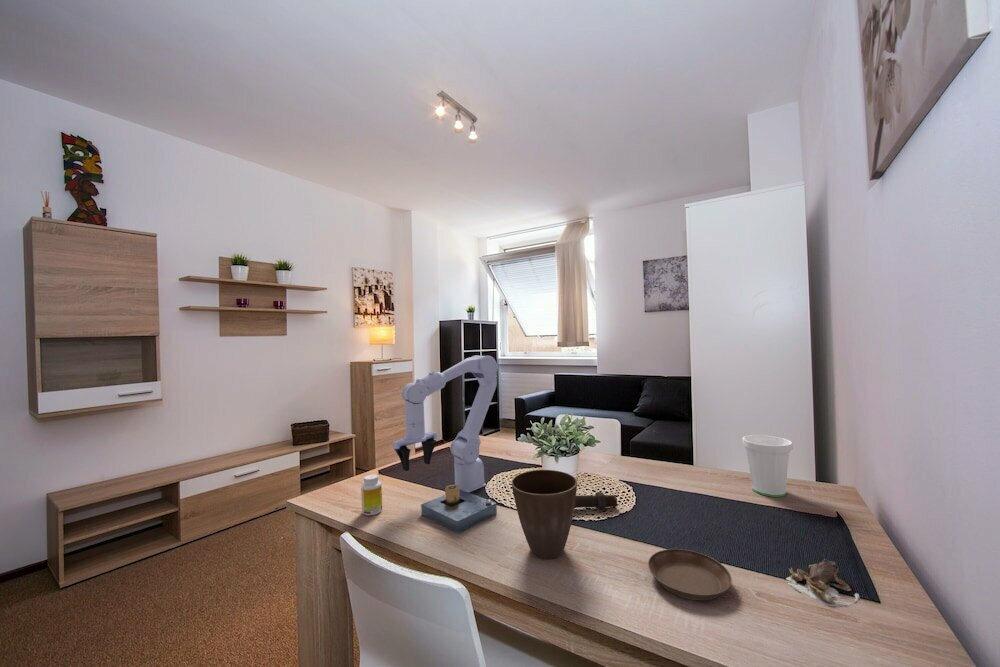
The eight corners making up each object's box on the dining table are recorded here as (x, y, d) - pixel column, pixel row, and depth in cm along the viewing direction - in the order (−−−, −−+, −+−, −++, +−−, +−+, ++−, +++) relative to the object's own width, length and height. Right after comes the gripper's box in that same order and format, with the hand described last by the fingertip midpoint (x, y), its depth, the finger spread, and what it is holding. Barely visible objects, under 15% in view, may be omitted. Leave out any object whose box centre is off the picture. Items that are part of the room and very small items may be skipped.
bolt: (617, 515, 111) (563, 516, 110) (612, 500, 115) (560, 500, 115) (620, 501, 108) (565, 502, 108) (615, 486, 112) (562, 487, 112)
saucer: (693, 619, 68) (692, 603, 68) (632, 572, 82) (632, 559, 82) (750, 593, 74) (749, 579, 74) (684, 554, 88) (684, 542, 88)
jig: (459, 498, 122) (459, 486, 122) (496, 513, 110) (496, 500, 110) (421, 515, 112) (420, 501, 112) (458, 533, 100) (457, 518, 100)
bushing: (453, 507, 116) (452, 483, 116) (463, 511, 113) (462, 486, 113) (443, 512, 113) (442, 487, 113) (452, 516, 110) (451, 491, 110)
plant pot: (573, 575, 81) (570, 497, 81) (505, 563, 86) (502, 490, 86) (584, 538, 95) (581, 472, 95) (524, 530, 100) (522, 467, 100)
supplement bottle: (385, 512, 114) (384, 476, 114) (366, 518, 111) (365, 481, 111) (377, 506, 119) (376, 472, 119) (359, 511, 115) (358, 476, 115)
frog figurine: (802, 562, 83) (801, 544, 83) (874, 595, 72) (873, 574, 72) (767, 578, 79) (767, 558, 79) (840, 616, 68) (839, 593, 68)
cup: (746, 480, 127) (744, 432, 127) (794, 488, 120) (792, 437, 120) (742, 494, 117) (740, 442, 117) (795, 503, 109) (792, 448, 109)
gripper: (401, 429, 113) (403, 476, 113) (442, 419, 124) (443, 463, 124) (388, 425, 118) (390, 471, 118) (428, 417, 129) (430, 458, 129)
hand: (416, 466), depth 121 cm, fingers open, 7 cm apart
